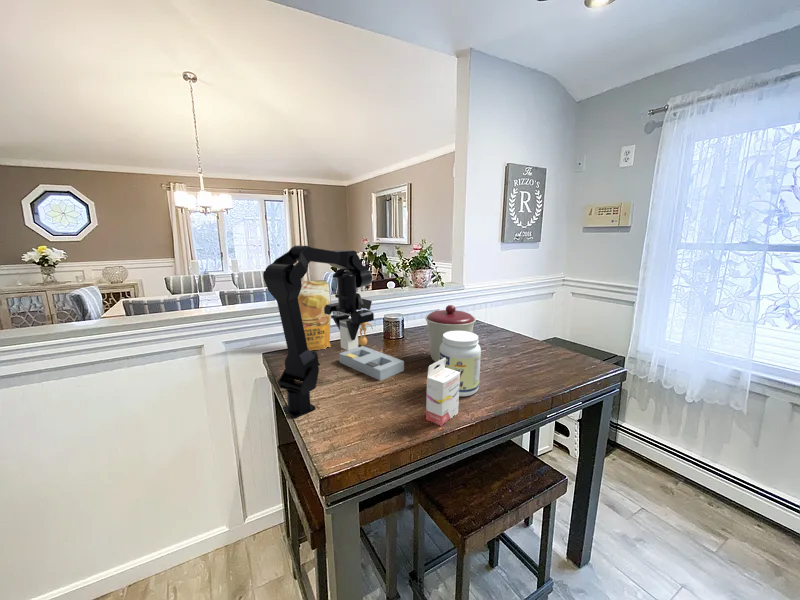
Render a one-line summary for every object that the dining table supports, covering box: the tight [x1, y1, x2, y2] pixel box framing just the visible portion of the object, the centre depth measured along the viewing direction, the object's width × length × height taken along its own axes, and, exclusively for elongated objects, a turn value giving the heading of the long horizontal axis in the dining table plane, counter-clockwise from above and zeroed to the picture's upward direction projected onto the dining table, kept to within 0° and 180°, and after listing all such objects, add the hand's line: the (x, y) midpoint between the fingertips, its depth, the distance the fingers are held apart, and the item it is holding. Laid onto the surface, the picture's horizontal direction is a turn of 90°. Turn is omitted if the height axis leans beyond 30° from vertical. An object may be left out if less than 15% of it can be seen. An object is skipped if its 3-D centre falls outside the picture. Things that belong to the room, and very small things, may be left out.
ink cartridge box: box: [425, 358, 460, 427], centre depth 84 cm, size 9×5×15 cm, turn 141°
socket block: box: [338, 346, 405, 382], centre depth 117 cm, size 22×11×4 cm, turn 46°
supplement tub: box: [438, 331, 482, 397], centre depth 100 cm, size 12×12×17 cm
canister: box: [424, 304, 477, 363], centre depth 121 cm, size 18×18×21 cm
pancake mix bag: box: [298, 279, 332, 351], centre depth 132 cm, size 7×19×28 cm, turn 110°
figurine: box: [358, 322, 374, 347], centre depth 137 cm, size 8×6×12 cm
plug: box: [339, 317, 359, 351], centre depth 106 cm, size 4×4×9 cm
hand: (349, 338), depth 107 cm, fingers closed on plug, 4 cm apart
